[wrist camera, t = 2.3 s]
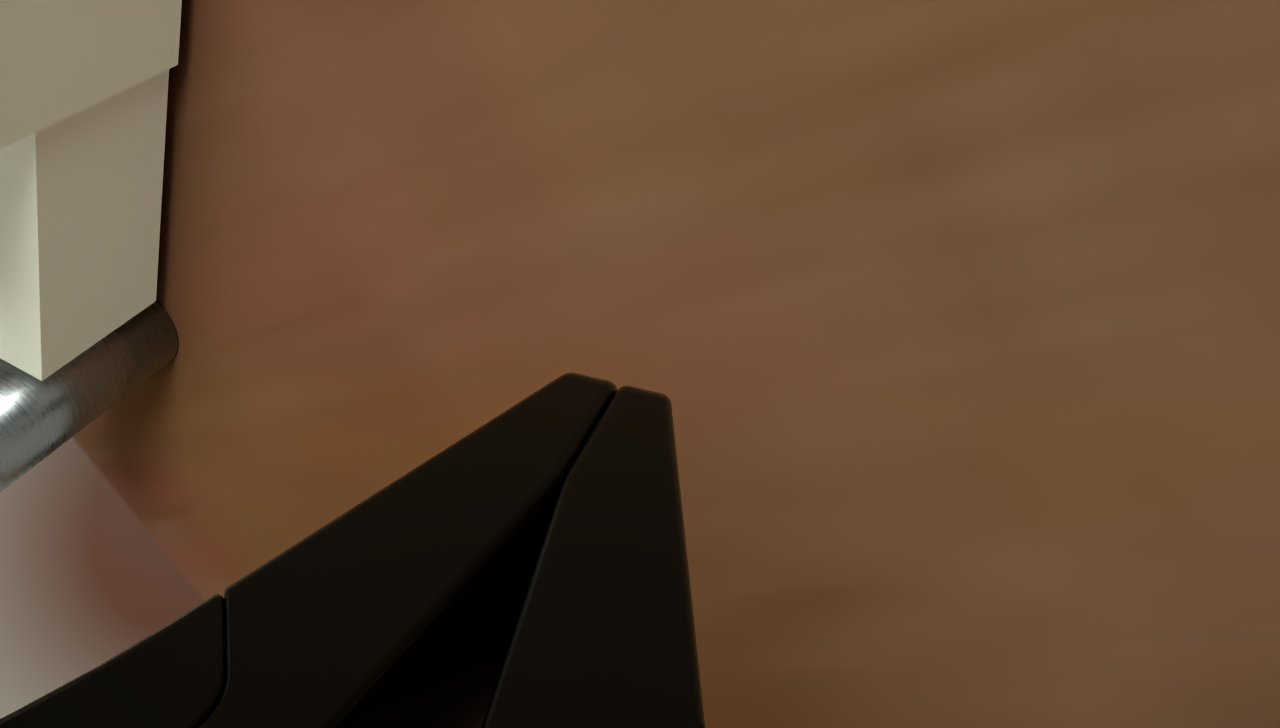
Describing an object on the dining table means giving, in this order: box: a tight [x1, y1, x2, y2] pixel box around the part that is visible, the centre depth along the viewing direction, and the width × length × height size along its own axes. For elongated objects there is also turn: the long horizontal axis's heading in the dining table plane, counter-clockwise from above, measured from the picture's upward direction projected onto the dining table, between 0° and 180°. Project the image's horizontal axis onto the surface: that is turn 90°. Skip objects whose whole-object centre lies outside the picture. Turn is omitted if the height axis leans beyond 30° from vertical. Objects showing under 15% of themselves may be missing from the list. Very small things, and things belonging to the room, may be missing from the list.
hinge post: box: [0, 301, 178, 492], centre depth 26 cm, size 2×2×6 cm
